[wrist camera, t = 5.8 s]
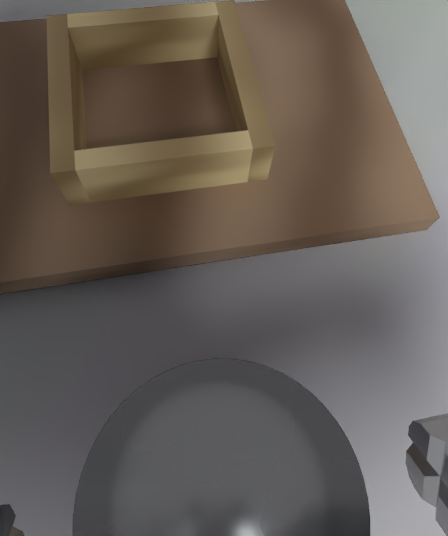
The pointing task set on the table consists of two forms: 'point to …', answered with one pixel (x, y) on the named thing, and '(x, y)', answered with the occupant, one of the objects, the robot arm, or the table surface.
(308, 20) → the collar board
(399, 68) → the table surface
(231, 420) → the cylinder
